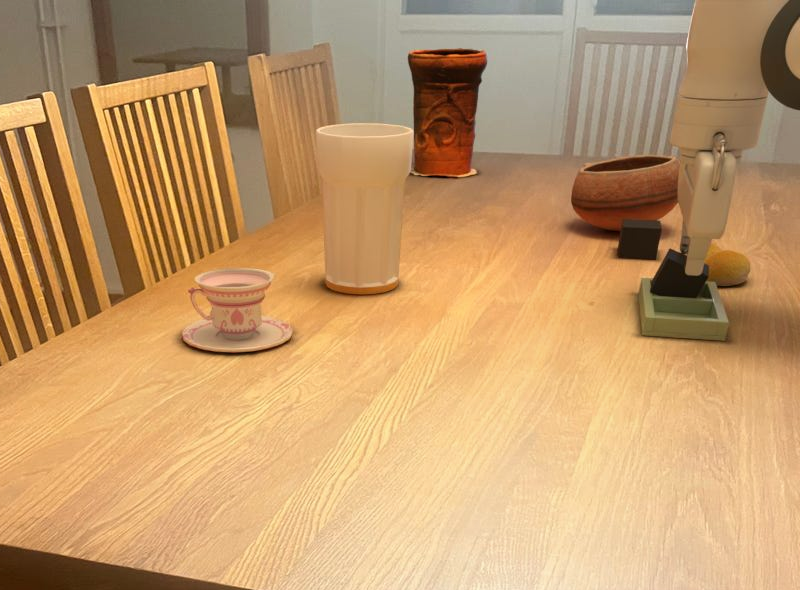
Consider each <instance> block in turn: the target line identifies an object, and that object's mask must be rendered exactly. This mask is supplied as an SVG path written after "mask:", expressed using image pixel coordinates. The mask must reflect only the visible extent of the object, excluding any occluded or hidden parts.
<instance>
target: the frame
mask: <svg viewBox="0 0 800 590" xmlns="http://www.w3.org/2000/svg"><path fill="white" fill-rule="evenodd" d="M653 278H654V277H641V278H640V283H639V289H638V295H637V296H638V305H639V316H640V325H641V326H640V327H641V335H642V336H646V337H660V338H661V337H662V338H676V339H689V340H691V339H692V340H704V341H721V342H725V341H726V336H727V332H728V329H729V325H730V322H729V318H728V315H727V313H726V309H725V306H724V304H723V300H722V298H721V295H720V292H719V288H718V286H716V283H715V282H707V281H706V282H705V284H704V286H703V287H702V289H701V291H700V293H699V294H698V296H697V298H683V297H667V296H658V295H656V294H653V293H651V292H650V288H651V283H652V280H653Z"/></svg>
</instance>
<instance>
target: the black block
mask: <svg viewBox="0 0 800 590" xmlns="http://www.w3.org/2000/svg"><path fill="white" fill-rule="evenodd" d="M662 230H663V228H662V223H661V220H660V219H659V220H636V219H622V225H621V231H619V239H618V244H617V258H618V259H632V260H633V259H634V260H651V261H652V260H653V261H656V260H657V256H658V253H659V252H658V251H659V247H660V241H661V235H662Z"/></svg>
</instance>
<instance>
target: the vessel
mask: <svg viewBox="0 0 800 590" xmlns="http://www.w3.org/2000/svg"><path fill="white" fill-rule="evenodd" d="M407 63H408V67H409V70H410V74H411V81H412V86H413V87H412V88H413V100H412V101H413V102H412V103H413V104H412V105H413V106H412V107H413V109H412V113H413V114H412V115H413V131H414V135H413V155H414V156H413V157H414V165H413V164H411V172H410V174H413V175H414V176H422V177H428V176H441V177H443V176H444V177H445V176H446V177H448V178H464V177H470V176H473V175H476V174H478V172H477V170H476V169H475V168H472V163H473V153H474V146H475V145H474V144H475V140H476V132H475V131H476V130H475V128H476V124H477V121H476V115H477V111H478V101H479V91H480V85H481V84H482V83H483V80H482V75H483V73H484V72H485V70H486V68H487V65H488V56H487V53H486V51H485V50H484V49H481V50H478V49H473V48H461V47H459V48H458V47H457V48H438V49H417V50H416V49H413V50H411V51H409V52H408V55H407Z"/></svg>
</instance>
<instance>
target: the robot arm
mask: <svg viewBox="0 0 800 590" xmlns="http://www.w3.org/2000/svg"><path fill="white" fill-rule="evenodd" d="M691 13H692V14H691V19H690V24H689V29H688V35H687V40H686V48H685V49H686V69H685V73H684V77H683V80H682V82H681V84H680V86H679V89H678V93H677V99H676V105H675V111H674V117H673V122H672V128H671V134H670V139H669V144H670V145H671V146H673V147H676V148H680V154H679V158H678V162H679V176H678V203H677V204H678V206H679V209H680V213H681V216H682V222H681V223H682V226H681V238H680V242H679V251H680V253H682V254H688V255H687V258H686V263H685V273H686V274H687V275H694V276H698V275H700V274H701V273H702V271H703V266H704V262H705V258H706V256H707V253H708V250H709V248H710V245H711V244H712V240H719V239H721V238H723V235H724V233H725V231H726V228H727V224H728V218H729V214H730V207H731V202H732V198H733V191H734V185H735V182H736V181H735V179H736V173H737V165H739V164H741V162H742V158H743V152H744V150H745V151H746V150H751V149H753V148H754V149H755V147H757V145H758V143H759V138H760V133H761V129H762V123H763V120H764V115H765V110H766V107H767V101H768V96H769V94H771V96H772V98H774V99H775V100H776V101H777V102H778V103H780V104H781V105H783V106H785V107H786V108H789V109H792V110H796V111H800V0H694V5H693V10H692V12H691Z"/></svg>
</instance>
